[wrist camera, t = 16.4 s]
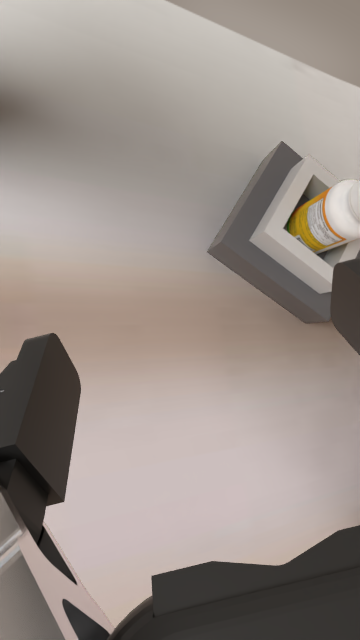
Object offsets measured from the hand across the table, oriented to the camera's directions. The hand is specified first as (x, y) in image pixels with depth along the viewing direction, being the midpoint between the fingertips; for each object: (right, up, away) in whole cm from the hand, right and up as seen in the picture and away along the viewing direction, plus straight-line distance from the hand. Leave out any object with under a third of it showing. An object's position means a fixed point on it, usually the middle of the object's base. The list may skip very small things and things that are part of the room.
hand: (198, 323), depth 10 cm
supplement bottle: (+13, +10, +27) cm, 31 cm away
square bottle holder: (+12, +10, +31) cm, 34 cm away
